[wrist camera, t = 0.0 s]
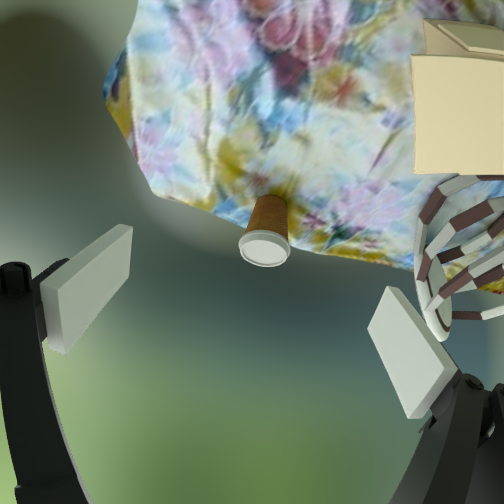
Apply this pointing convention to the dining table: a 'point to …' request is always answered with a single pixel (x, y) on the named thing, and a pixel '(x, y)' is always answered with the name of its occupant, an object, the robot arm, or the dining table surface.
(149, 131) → the dining table surface
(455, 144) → the flap
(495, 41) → the carton
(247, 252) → the disposable coffee cup
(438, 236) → the white brown ornate frame
